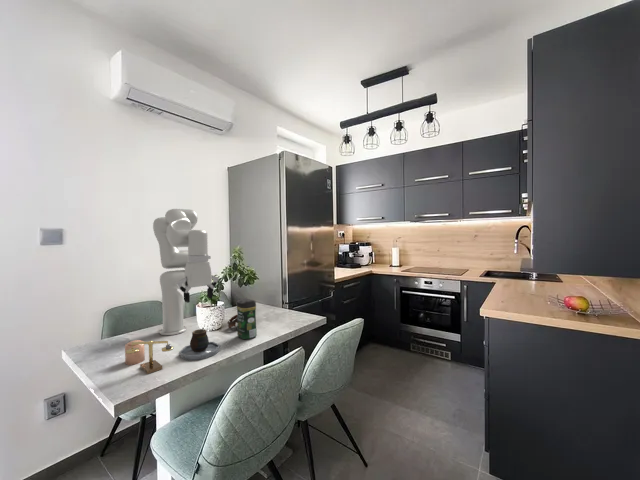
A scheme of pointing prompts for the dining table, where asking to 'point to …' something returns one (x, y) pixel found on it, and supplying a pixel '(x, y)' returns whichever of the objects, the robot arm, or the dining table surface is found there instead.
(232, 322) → the pottery mug
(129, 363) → the terracotta cup
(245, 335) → the coffee jar
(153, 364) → the balance
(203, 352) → the dish
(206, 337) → the mate gourd
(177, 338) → the dining table surface
